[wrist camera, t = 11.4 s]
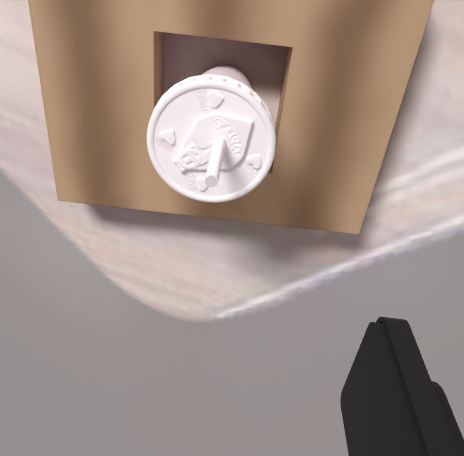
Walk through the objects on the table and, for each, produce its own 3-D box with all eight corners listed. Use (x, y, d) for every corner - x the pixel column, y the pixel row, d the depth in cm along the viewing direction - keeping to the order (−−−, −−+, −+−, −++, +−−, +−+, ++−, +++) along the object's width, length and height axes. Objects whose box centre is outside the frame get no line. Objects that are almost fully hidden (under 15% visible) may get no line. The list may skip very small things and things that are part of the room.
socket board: (421, -22, 24) (440, -20, 21) (351, 213, 33) (358, 234, 30) (43, -67, 24) (17, -70, 21) (73, 182, 32) (57, 200, 30)
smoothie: (288, 109, 29) (309, 212, 17) (211, 154, 31) (182, 274, 19) (239, 21, 26) (223, 71, 14) (158, 77, 28) (85, 162, 16)
